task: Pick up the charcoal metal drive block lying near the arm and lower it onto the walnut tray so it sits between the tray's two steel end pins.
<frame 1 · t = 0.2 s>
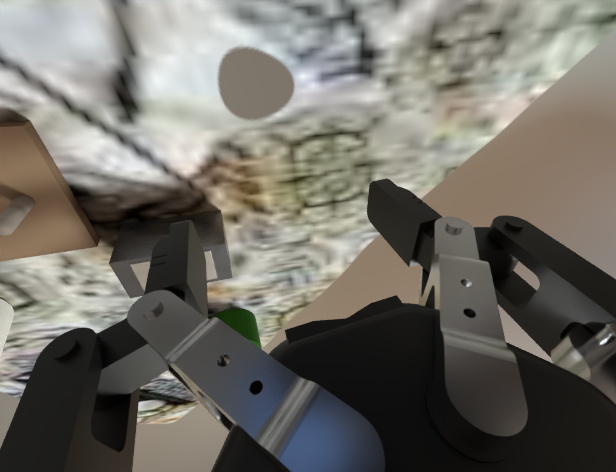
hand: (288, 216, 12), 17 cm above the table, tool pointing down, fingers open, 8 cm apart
candle: (230, 323, 45), on the table
drive block: (179, 233, 31), on the table
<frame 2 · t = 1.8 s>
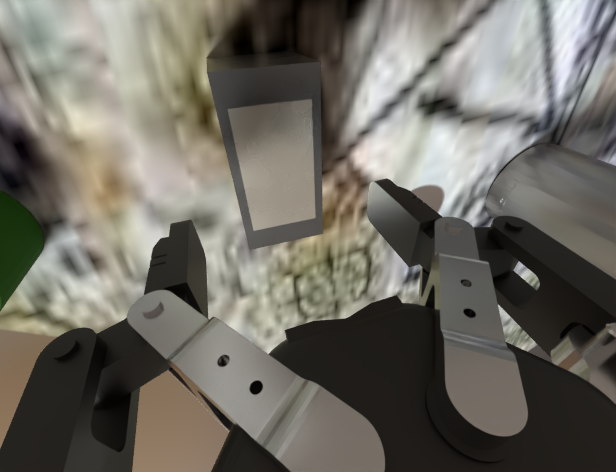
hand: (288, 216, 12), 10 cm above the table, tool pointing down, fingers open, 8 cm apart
drive block: (261, 137, 20), on the table
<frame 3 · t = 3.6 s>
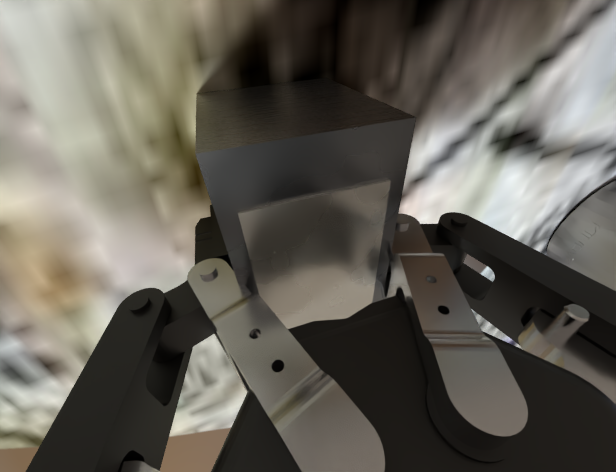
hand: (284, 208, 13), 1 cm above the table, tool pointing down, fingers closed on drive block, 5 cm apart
drive block: (280, 198, 14), on the table, touching gripper
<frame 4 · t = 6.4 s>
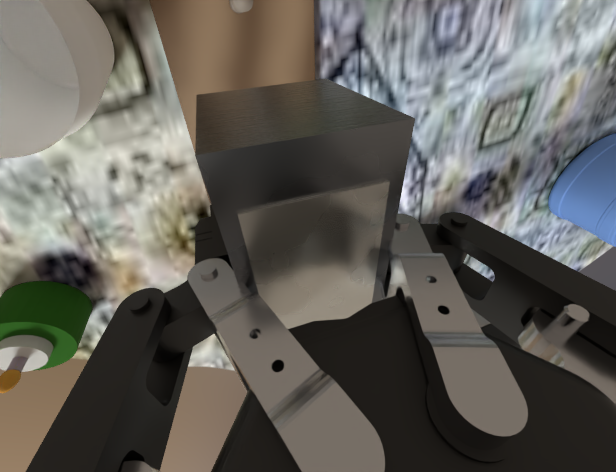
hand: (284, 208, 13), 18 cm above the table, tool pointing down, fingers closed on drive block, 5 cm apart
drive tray: (249, 96, 25), on the table
candle: (49, 304, 32), on the table
water jug: (583, 175, 49), on the table
cup: (60, 36, 20), on the table
drive block: (279, 198, 14), point 17 cm above the table, touching gripper
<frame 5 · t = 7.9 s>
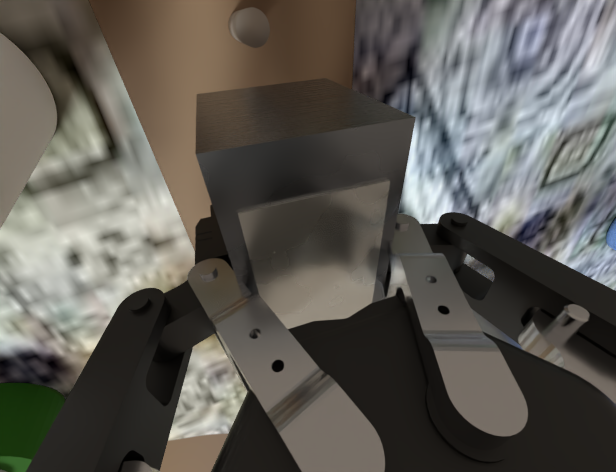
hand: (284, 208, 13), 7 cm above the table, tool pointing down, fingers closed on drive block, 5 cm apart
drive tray: (259, 150, 18), on the table
candle: (9, 404, 26), on the table
drive block: (280, 198, 14), point 6 cm above the table, touching gripper
when the fingers open (4 cm above the table, at t = 9.1 s): drive block drops 1 cm, resting on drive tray.
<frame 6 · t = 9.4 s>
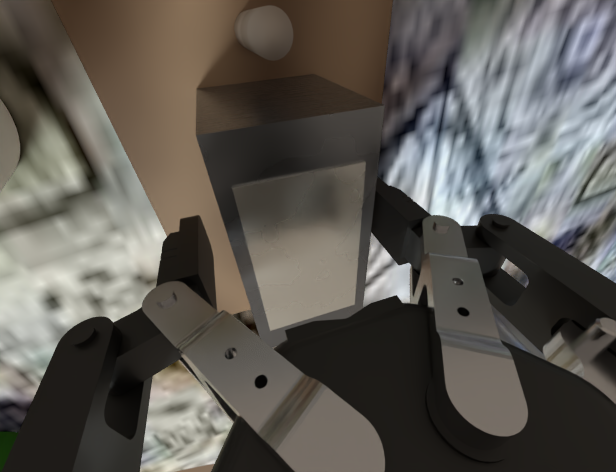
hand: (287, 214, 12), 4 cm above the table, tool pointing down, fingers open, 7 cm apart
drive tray: (269, 175, 15), on the table
drive block: (274, 186, 15), point 1 cm above the table, touching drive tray
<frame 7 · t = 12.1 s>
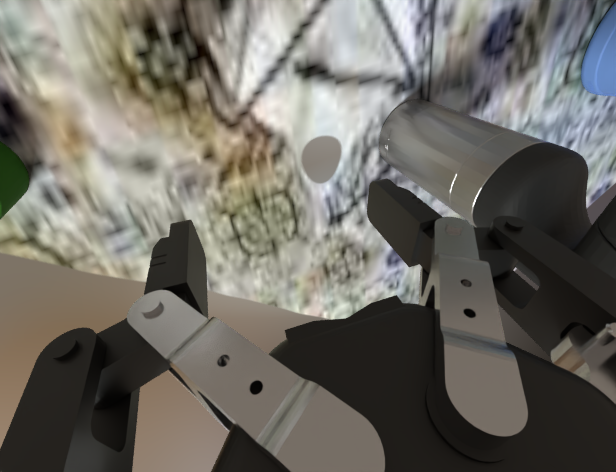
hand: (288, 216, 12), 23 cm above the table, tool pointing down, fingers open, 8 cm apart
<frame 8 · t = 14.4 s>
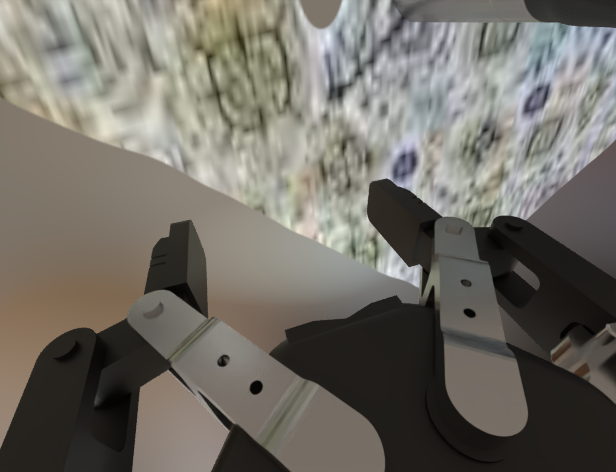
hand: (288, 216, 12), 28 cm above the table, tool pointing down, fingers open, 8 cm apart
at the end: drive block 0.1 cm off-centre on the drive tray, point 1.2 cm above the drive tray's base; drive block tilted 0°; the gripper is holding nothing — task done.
